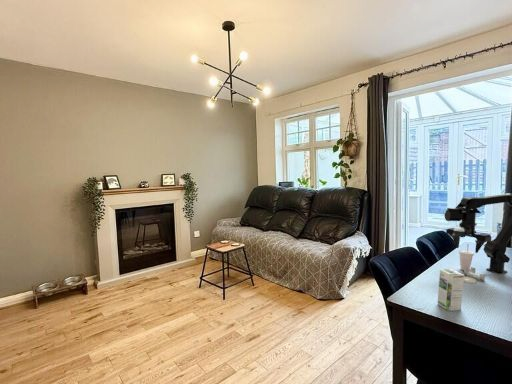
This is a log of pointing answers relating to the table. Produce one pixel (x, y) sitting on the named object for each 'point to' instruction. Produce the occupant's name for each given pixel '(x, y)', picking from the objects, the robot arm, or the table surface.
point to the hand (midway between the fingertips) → (466, 250)
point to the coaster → (469, 280)
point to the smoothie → (465, 258)
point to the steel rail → (472, 274)
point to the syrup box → (450, 289)
